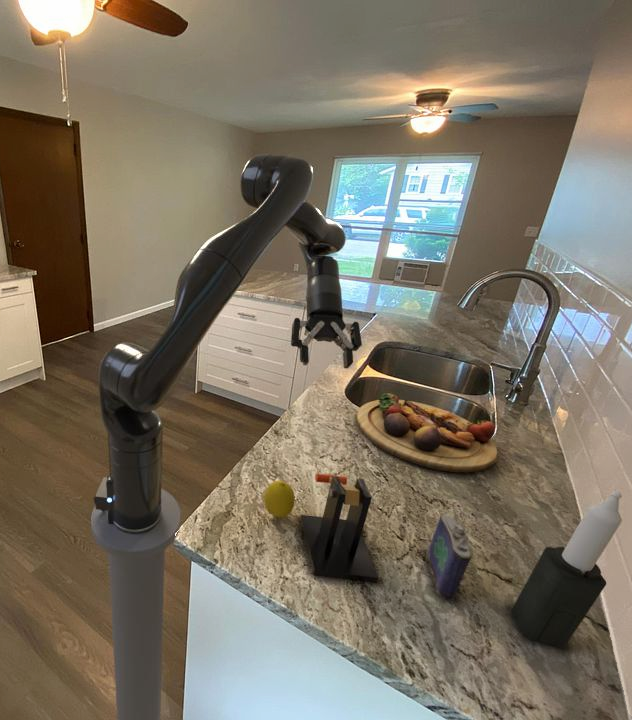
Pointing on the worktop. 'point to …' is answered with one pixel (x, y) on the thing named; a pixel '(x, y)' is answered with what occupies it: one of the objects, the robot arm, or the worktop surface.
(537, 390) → the worktop surface
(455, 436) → the wooden plate
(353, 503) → the valve lever
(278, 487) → the lemon
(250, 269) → the robot arm
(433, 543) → the flask
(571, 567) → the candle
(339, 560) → the black lever stand
